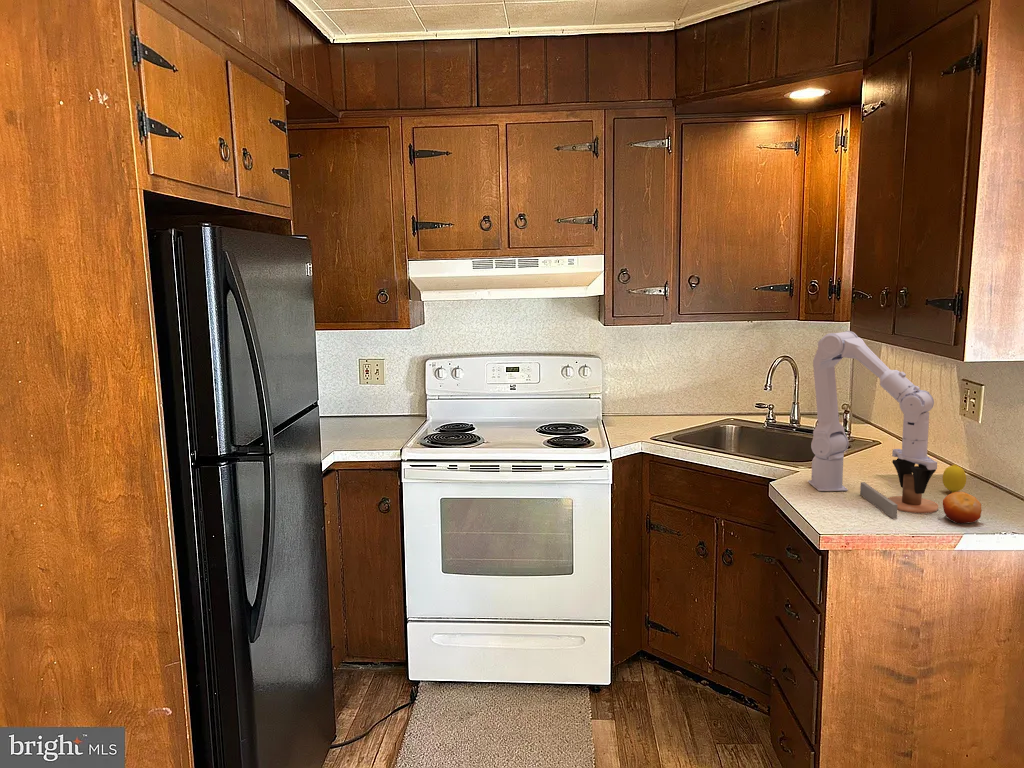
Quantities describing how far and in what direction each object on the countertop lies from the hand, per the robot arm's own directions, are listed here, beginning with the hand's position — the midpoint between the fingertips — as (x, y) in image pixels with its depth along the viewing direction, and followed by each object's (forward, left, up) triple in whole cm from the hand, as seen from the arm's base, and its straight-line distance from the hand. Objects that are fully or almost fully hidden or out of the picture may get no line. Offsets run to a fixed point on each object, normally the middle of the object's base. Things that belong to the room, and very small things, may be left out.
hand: (912, 490), depth 189 cm
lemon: (-11, +16, -4) cm, 20 cm away
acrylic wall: (0, -8, -4) cm, 9 cm away
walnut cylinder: (0, 0, -3) cm, 3 cm away
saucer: (0, 0, -4) cm, 4 cm away
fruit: (+12, +6, -4) cm, 14 cm away
